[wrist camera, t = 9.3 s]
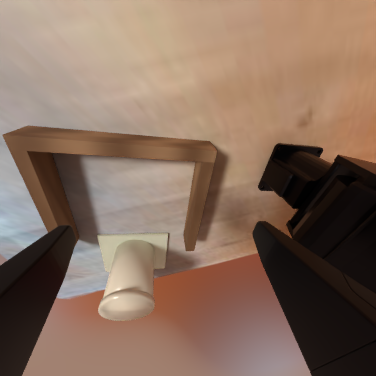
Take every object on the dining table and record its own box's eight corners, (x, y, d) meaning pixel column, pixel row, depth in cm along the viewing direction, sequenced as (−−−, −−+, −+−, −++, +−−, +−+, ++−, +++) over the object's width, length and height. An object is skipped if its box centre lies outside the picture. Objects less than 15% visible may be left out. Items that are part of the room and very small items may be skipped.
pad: (167, 233, 26) (168, 234, 25) (164, 266, 30) (164, 268, 30) (97, 234, 24) (97, 236, 23) (106, 270, 29) (106, 271, 28)
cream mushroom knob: (111, 239, 24) (93, 299, 18) (156, 238, 25) (154, 294, 19) (117, 273, 29) (105, 330, 22) (155, 270, 30) (153, 324, 24)
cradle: (209, 141, 18) (217, 151, 16) (190, 234, 27) (194, 250, 24) (27, 125, 15) (2, 134, 13) (70, 237, 23) (59, 256, 21)
